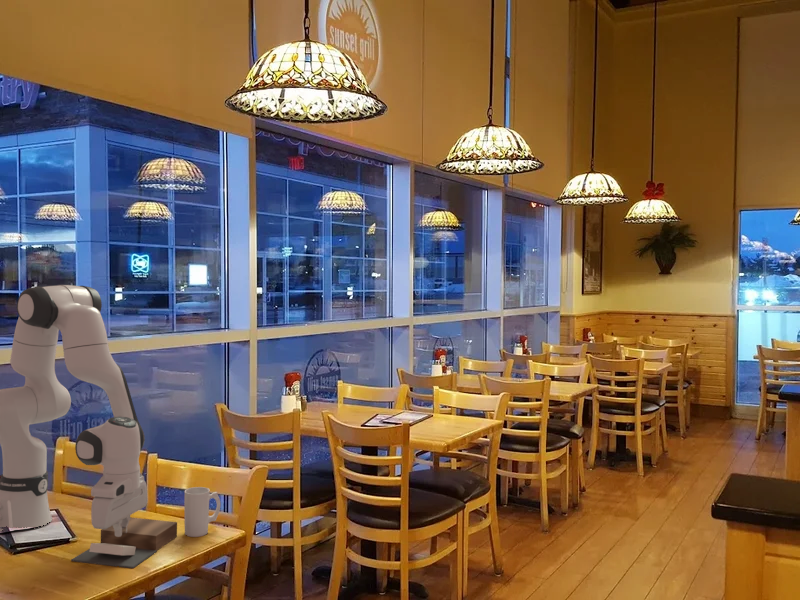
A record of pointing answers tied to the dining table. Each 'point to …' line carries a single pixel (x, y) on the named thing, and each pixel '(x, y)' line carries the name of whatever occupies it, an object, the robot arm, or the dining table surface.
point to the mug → (199, 510)
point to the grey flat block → (112, 549)
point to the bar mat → (115, 558)
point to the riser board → (142, 534)
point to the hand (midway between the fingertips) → (120, 534)
